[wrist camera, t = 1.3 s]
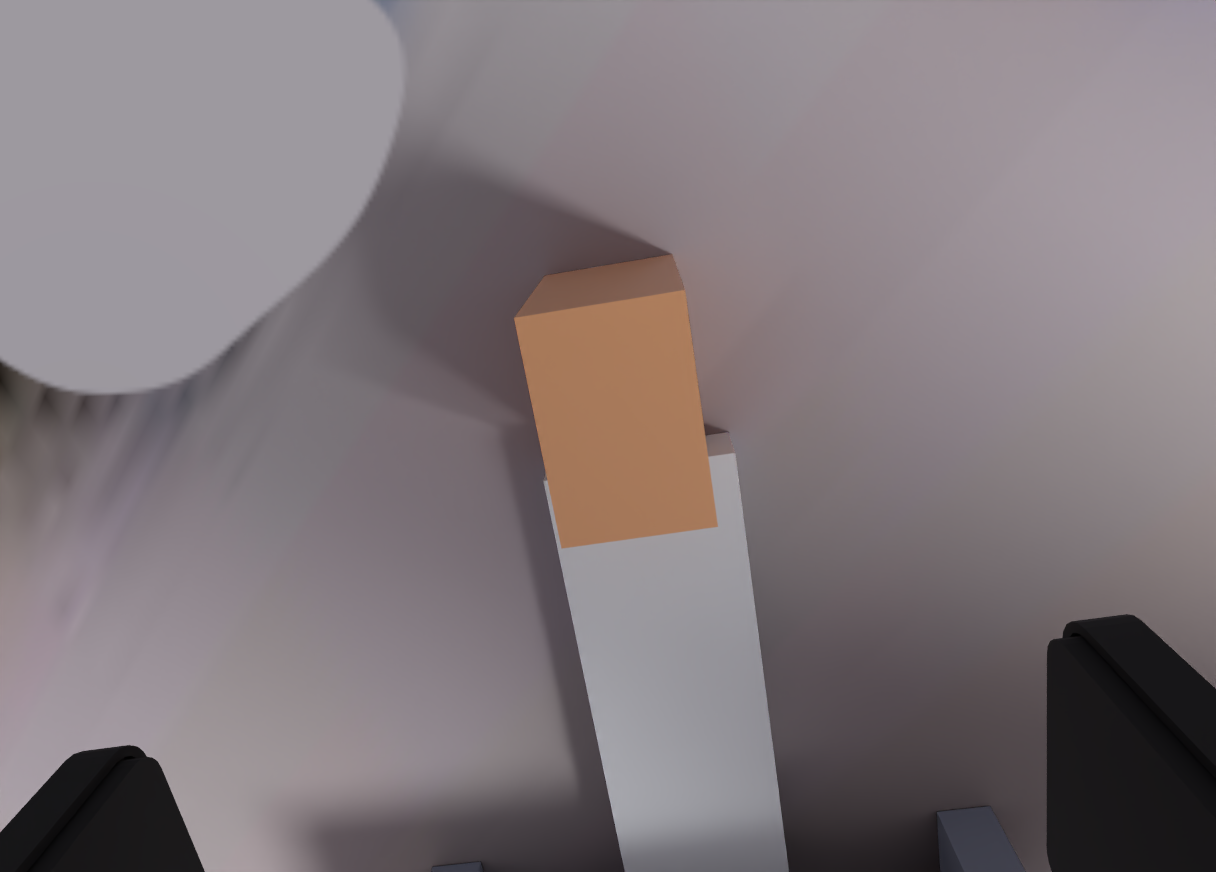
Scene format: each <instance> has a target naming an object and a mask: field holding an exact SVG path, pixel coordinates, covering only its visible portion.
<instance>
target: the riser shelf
mask: <svg viewBox="0 0 1216 872" xmlns="http://www.w3.org/2000/svg"><path fill="white" fill-rule="evenodd" d="M937 824H938V842H939V860H940V872H1026V871H1025V869H1024V868H1023V866H1022V864H1021V862H1020V860H1019V858H1018V857H1017V855H1016V853H1015V851H1014V849H1013V847H1012V845H1011V844H1010V842H1009V840H1008V838H1007V836H1006V834H1005V833H1004V831H1003V829H1002V827H1001V825H1000V823H999V821H998V820H997V818H996V816H995V814H994V812H993V810H992V809H991V807H990V806H986V807H977V808H968V809H959V810H949V811H940V812H937ZM431 872H483V869H482V865H481V862H474V863H464V864H455V865H446V866H437V867H432V870H431Z"/></svg>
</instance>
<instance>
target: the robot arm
mask: <svg viewBox="0 0 1216 872" xmlns="http://www.w3.org/2000/svg"><path fill="white" fill-rule="evenodd" d="M1047 854H1048V859H1049V864H1050V867H1051V870H1052V872H1216V689H1215V688H1214V687H1213V686H1212V685H1211V684H1210V683H1209V682H1207V681H1206V680H1205V679H1204V678H1203V677H1202V676H1201V675H1200V674H1199V673H1198V672H1197V671H1196V670H1194V669H1193V668H1192V667H1191V666H1190V665H1189V664H1188V663H1187V662H1186V661H1185V660H1184V659H1182V658H1181V657H1180V656H1179V655H1178V654H1177V653H1176V652H1175V651H1174V650H1173V649H1172V648H1171V647H1169V646H1168V645H1167V644H1166V643H1165V642H1164V641H1163V640H1162V639H1161V638H1160V637H1159V636H1158V635H1156V634H1155V633H1154V632H1153V631H1152V630H1151V629H1150V628H1149V627H1148V626H1147V625H1146V624H1144V623H1143V622H1142V621H1141V620H1140V619H1138V618H1137V617H1135V616H1134V615H1127V614H1126V615H1118V616H1111V617H1103V618H1096V619H1088V620H1080V621H1073V622H1070V623H1068V624H1067V625H1066V627H1065V629H1064V631H1063V638H1060V639H1053V640H1052V641H1050V643H1049V645H1048V650H1047ZM0 872H205V871H204V869H203V866H202V864H201V862H200V859H199V857H198V854H197V852H196V850H195V847H194V845H193V842H192V840H191V838H190V835H189V833H188V830H187V828H186V826H185V823H184V821H183V818H182V816H181V814H180V811H179V809H178V807H177V804H176V802H175V799H174V797H173V795H172V792H171V790H170V787H169V785H168V783H167V780H166V778H165V775H164V773H163V771H162V768H161V767H160V765H159V763H158V762H157V761H156V760H155V759H153V758H150V757H147V756H146V755H145V753H144V751H142V750H141V749H140V748H138V747H137V746H131V745H127V746H119V747H112V748H104V749H96V750H89V751H82V752H79V753H76V754H73V755H72V756H71V757H70V758H68V759H67V760H66V761H65V762H64V763H63V764H62V765H61V766H60V767H59V768H58V770H57V771H56V772H55V773H54V774H53V775H52V776H51V777H50V778H49V779H48V781H47V782H46V783H45V784H44V785H43V786H42V787H41V788H40V789H39V790H38V792H37V793H36V794H35V795H34V796H33V797H32V798H31V799H30V800H29V801H28V803H27V804H26V805H25V806H24V807H23V808H22V809H21V810H20V811H19V812H18V814H17V815H16V816H15V817H14V818H13V819H12V820H11V821H10V822H9V823H8V825H7V826H6V827H5V828H4V829H3V830H2V831H1V832H0Z"/></svg>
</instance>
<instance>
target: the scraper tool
mask: <svg viewBox="0 0 1216 872" xmlns="http://www.w3.org/2000/svg"><path fill="white" fill-rule="evenodd" d="M514 321H515V326H516V331H517V335H518V340H519V345H520V350H521V355H522V360H523V365H524V369H525V374H526V379H527V384H528V389H529V394H530V398H531V403H532V408H533V413H534V418H535V423H536V428H537V432H538V437H539V442H540V447H541V452H542V457H543V461H544V466H545V471H546V474H545V477H544V486H545V491H546V496H547V501H548V505H549V510H550V515H551V520H552V525H553V529H554V534H555V539H556V544H557V549H558V553H559V558H560V563H561V568H562V573H563V577H564V582H565V587H566V592H567V597H568V601H569V606H570V611H571V616H572V621H573V625H574V630H575V635H576V640H577V645H578V650H579V654H580V659H581V664H582V669H583V674H584V678H585V683H586V688H587V693H588V698H589V702H590V707H591V712H592V717H593V722H594V726H595V731H596V736H597V741H598V746H599V750H600V755H601V760H602V765H603V770H604V775H605V779H606V784H607V789H608V794H609V799H610V803H611V808H612V813H613V818H614V823H615V827H616V832H617V837H618V842H619V847H620V851H621V856H622V861H623V866H624V871H625V872H789V867H788V860H787V852H786V844H785V836H784V828H783V821H782V813H781V805H780V797H779V789H778V782H777V774H776V766H775V758H774V750H773V743H772V735H771V727H770V719H769V712H768V704H767V696H766V688H765V680H764V673H763V665H762V657H761V649H760V641H759V634H758V626H757V618H756V610H755V603H754V595H753V587H752V579H751V571H750V564H749V556H748V548H747V540H746V532H745V525H744V517H743V509H742V501H741V493H740V486H739V478H738V470H737V462H736V455H735V450H734V447H733V444H732V441H731V438H730V435H729V432H726V433H719V434H712V435H705V430H704V423H703V416H702V409H701V401H700V394H699V387H698V380H697V373H696V366H695V358H694V351H693V344H692V337H691V330H690V323H689V315H688V308H687V301H686V294H685V289H684V286H683V283H682V280H681V277H680V275H679V272H678V269H677V266H676V263H675V261H674V258H673V255H672V254H670V255H664V256H658V257H652V258H646V259H640V260H634V261H628V262H622V263H616V264H610V265H604V266H598V267H592V268H586V269H580V270H574V271H568V272H562V273H557V274H551V275H545V276H544V277H543V279H542V280H541V281H540V283H539V284H538V285H537V287H536V288H535V290H534V291H533V292H532V294H531V295H530V296H529V298H528V299H527V301H526V302H525V303H524V305H523V306H522V307H521V309H520V310H519V312H518V313H517V314H516V316H515V317H514Z"/></svg>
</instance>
